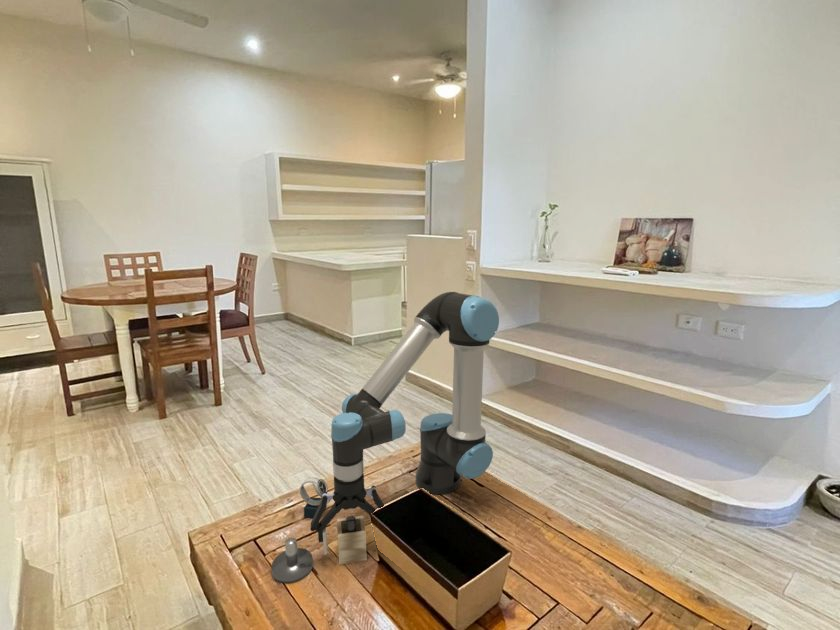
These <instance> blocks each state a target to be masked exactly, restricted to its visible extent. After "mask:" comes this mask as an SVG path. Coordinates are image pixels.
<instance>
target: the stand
mask: <svg viewBox="0 0 840 630" xmlns="http://www.w3.org/2000/svg"><path fill="white" fill-rule="evenodd" d="M355 517H356V516H354V515H349V516H347V517H345V518H346V529H347V533H351V532H356V520H355Z"/></svg>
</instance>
